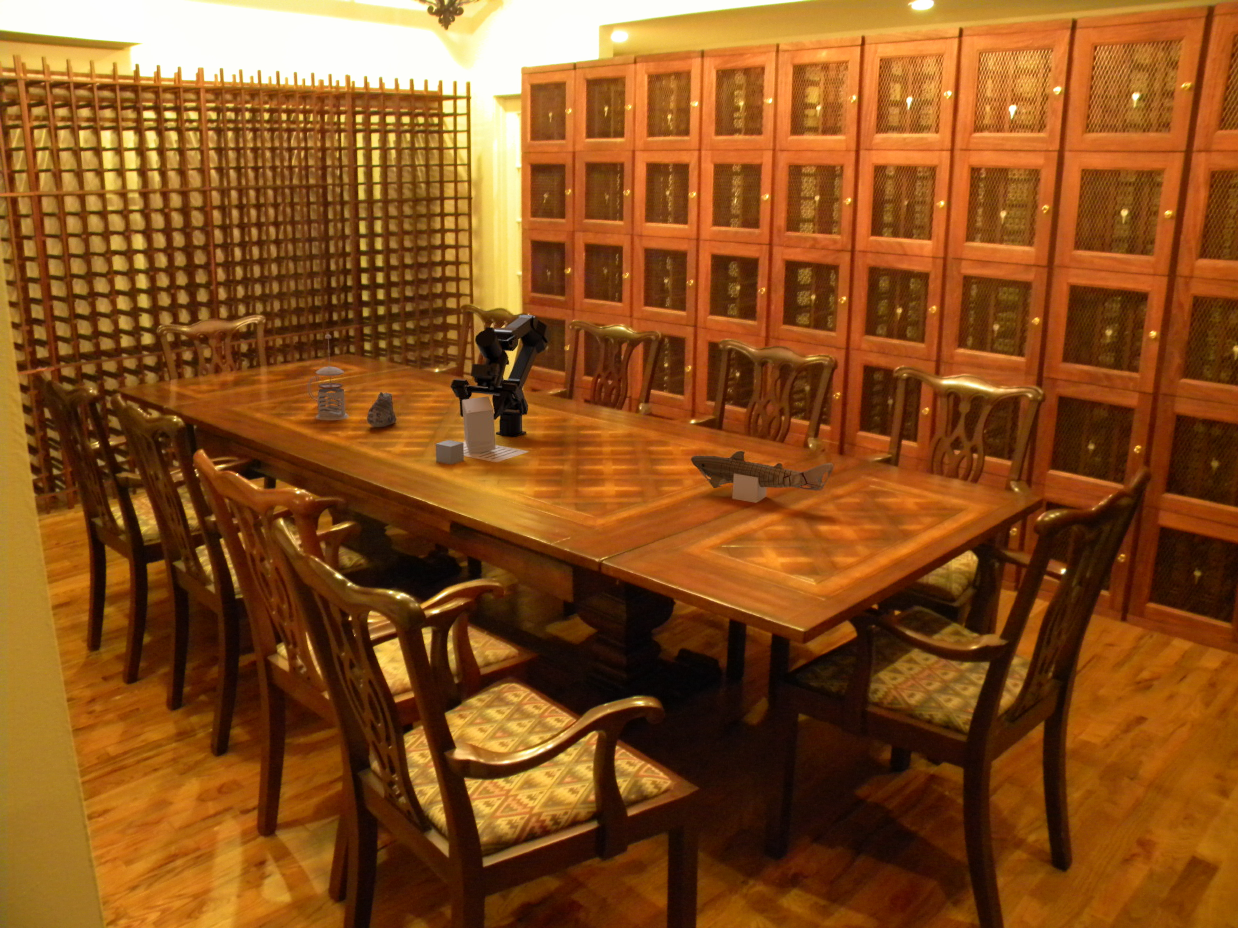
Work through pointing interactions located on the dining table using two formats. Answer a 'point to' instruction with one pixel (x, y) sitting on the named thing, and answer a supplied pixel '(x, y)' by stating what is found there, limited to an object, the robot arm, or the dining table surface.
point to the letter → (494, 453)
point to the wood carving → (756, 476)
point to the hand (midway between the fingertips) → (477, 417)
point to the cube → (449, 452)
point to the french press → (330, 394)
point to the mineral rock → (382, 411)
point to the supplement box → (478, 424)
